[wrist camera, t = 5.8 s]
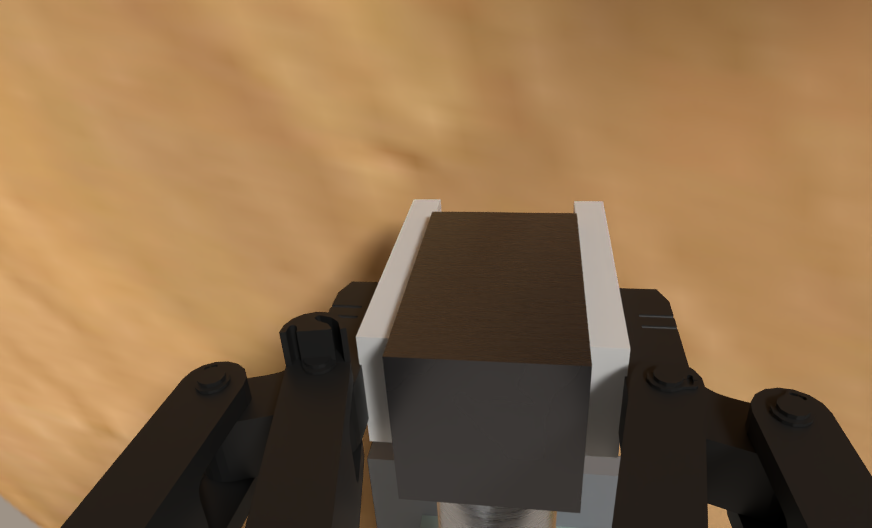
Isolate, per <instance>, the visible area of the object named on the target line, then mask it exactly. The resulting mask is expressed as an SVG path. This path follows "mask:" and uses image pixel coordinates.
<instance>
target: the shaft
mask: <svg viewBox="0 0 872 528" xmlns="http://www.w3.org/2000/svg"><path fill="white" fill-rule="evenodd" d="M382 358H383V367H384V376H385V384H386V393H387V402H388V410H389V419H390V428H391V436H392V445H393V453H394V462H395V471H396V479H397V488H398V497H399V499H406V500H419V501H432V502H437V510H438V523H439V528H556V516H557V511H558V512H570V513H580V510H581V498H582V485H583V473H584V461H585V448H586V436H587V424H588V411H589V399H590V387H591V374H592V360H591V350H590V340H589V330H588V320H587V310H586V300H585V290H584V280H583V270H582V260H581V250H580V240H579V229H578V219H577V213H501V212H432V214H431V217H430V220H429V223H428V226H427V228H426V231H425V234H424V237H423V240H422V243H421V246H420V249H419V252H418V255H417V257H416V260H415V263H414V266H413V269H412V272H411V275H410V278H409V281H408V284H407V286H406V289H405V292H404V295H403V298H402V301H401V304H400V307H399V310H398V313H397V315H396V318H395V321H394V324H393V327H392V330H391V333H390V336H389V339H388V342H387V344H386V347H385V350H384V353H383V356H382Z"/></svg>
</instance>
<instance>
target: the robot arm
mask: <svg viewBox="0 0 872 528" xmlns="http://www.w3.org/2000/svg"><path fill="white" fill-rule="evenodd" d="M432 212H441V200H437V199H414V200H413V202H412V205H411V207H410V209H409V212H408V214H407V217H406V219H405V221H404V224H403V226H402V228H401V231H400V233H399V236H398V238H397V240H396V243H395V245H394V247H393V250H392V252H391V255H390V257H389V259H388V262H387V264H386V266H385V269H384V271H383V273H382V276H381V278H380V281H379V282H351V283H350V284H349V285H347V286H346V287H345V288H344V289H342V290H341V291H340V292H339V293H338V295H337V297H336V299H335V300H334V302H333V304H332V307H331V308H330V310H329V312H328V313H326V312H314V313H308V314H303V315H301V316H298V317H296V318H293V319H292V320H290V321H289V322H288V323H286V324H285V325H284V326H283V328H282V329H281V331H280V332H279V333H280V338H281V343H282V348H283V353H284V358H285V363H286V368H285V371H282V372H279V373H275V374H271V375H265V376H259V377H253V378H247V376H246V372H245V369H244V368H243V367H241V366H240V365H239V364H236V363H232V362H214V363H211V364H207V365H203V366H201V367H199V368H197V369H195V370H193V371H191V372H190V373H189V374H188V375H187V376H186V377H185V378H183V379H182V381H181V382H180V383H179V384H178V386H177V387H176V388H175V389H174V390H173V392H172V393H171V394H170V395H169V396H168V398H167V399H166V400H165V401H164V403H163V404H162V405H161V406H160V407H159V409H158V410H157V411H156V412H155V413H154V415H153V416H152V417H151V418H150V420H149V421H148V422H147V423H146V424H145V426H144V427H143V428H142V429H141V430H140V432H139V433H138V434H137V435H136V437H135V438H134V439H133V440H132V441H131V443H130V444H129V445H128V446H127V447H126V449H125V450H124V451H123V452H122V454H121V455H120V456H119V457H118V458H117V460H116V461H115V462H114V463H113V464H112V466H111V467H110V468H109V469H108V471H107V472H106V473H105V474H104V475H103V477H102V478H101V479H100V480H99V481H98V483H97V484H96V485H95V486H94V488H93V489H92V490H91V491H90V492H89V494H88V495H87V496H86V497H85V498H84V500H83V501H82V502H81V503H80V505H79V506H78V507H77V508H76V509H75V511H74V512H73V513H72V514H71V515H70V517H69V518H68V519H67V520H66V522H65V523H64V524H63V525H62V526H61V528H241V527H242V525H243V524H244V522H245V520H246V518H247V516H248V518H247V522H246V526H245V528H359V523H360V510H361V496H362V482H363V468H364V450H363V443H362V438H363V435H364V432H365V429H366V426H367V424H368V431H369V438H370V441H376V442H391V443H392V436H391V428H390V419H389V410H388V402H387V393H386V384H385V376H384V367H383V358H382V356H383V353H384V350H385V347H386V344H387V342H388V339H389V336H390V333H391V330H392V327H393V324H394V321H395V318H396V315H397V313H398V310H399V307H400V304H401V301H402V298H403V295H404V292H405V289H406V286H407V284H408V281H409V278H410V275H411V272H412V269H413V266H414V263H415V260H416V257H417V255H418V252H419V249H420V246H421V243H422V240H423V237H424V234H425V231H426V228H427V226H428V223H429V220H430V217H431V214H432ZM574 213H577V219H578V229H579V240H580V250H581V260H582V270H583V280H584V290H585V300H586V310H587V320H588V330H589V340H590V350H591V360H592V374H591V387H590V399H589V411H588V424H587V436H586V448H585V456H598V457H613V458H618V452H619V443H620V448H621V458H620V466H619V474H618V482H617V489H616V497H615V505H614V513H613V521H612V528H708V507H707V503H708V504H711V505H714V506H717V507H720V508H723V509H726V510H727V515H728V518H729V520H730V523H731V526H732V528H872V476H871V474H870V473H869V471H868V469H867V468H866V466H865V465H864V463H863V462H862V460H861V458H860V457H859V455H858V454H857V452H856V450H855V449H854V447H853V446H852V444H851V443H850V441H849V439H848V438H847V436H846V435H845V433H844V432H843V430H842V428H841V427H840V425H839V424H838V422H837V420H836V419H835V417H834V416H833V414H832V413H831V412H830V411H829V410H828V408H827V407H826V406H825V405H824V404H823V403H821V402H820V401H818V400H816V399H815V398H813V397H811V396H810V395H807V394H804V393H802V392H799V391H796V390H792V389H784V388H771V389H764V390H762V391H760V392H758V393H757V394H755V395H754V397H753V399H752V401H751V403H748V402H744V401H740V400H737V399H733V398H729V397H726V396H723V395H720V394H717V393H715V392H713V391H711V390H709V389H707V388H706V387H705V386H704V383H703V380H702V378H701V377H700V376H699V375H698V374H697V373H696V372H695V371H694V370H693V369H691V368H689V366H688V362H687V359H686V356H685V352H684V349H683V346H682V342H681V339H680V336H679V332H678V329H677V326H676V322H675V319H674V318H673V312H672V309H671V306H670V302H669V301H668V300H667V299H666V298H665V297H664V296H663V295H662V294H661V293H660V292H659V291H657V290H656V289H626V288H619V285H618V279H617V274H616V269H615V263H614V258H613V252H612V247H611V242H610V236H609V231H608V226H607V220H606V215H605V209H604V204H603V201H574Z"/></svg>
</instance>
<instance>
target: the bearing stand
mask: <svg viewBox="0 0 872 528" xmlns="http://www.w3.org/2000/svg"><path fill="white" fill-rule="evenodd" d="M620 458H621V456H618V458H613V457H598V456H585V461H584V473H583V485H582V498H581V510H580V513H570V512H558V511H557V516H556V528H612V521H613V513H614V505H615V497H616V489H617V482H618V474H619V466H620ZM367 460H368V467H369V474H370V481H371V488H372V495H373V502H374V509H375V516H376V523H377V528H439V523H438V510H437V502H432V501H419V500H406V499H399V497H398V488H397V479H396V471H395V462H394V453H393V445H392V443H391V442H376V441H373V442H372V445H371V448H370V451H369V455H368V458H367Z"/></svg>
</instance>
